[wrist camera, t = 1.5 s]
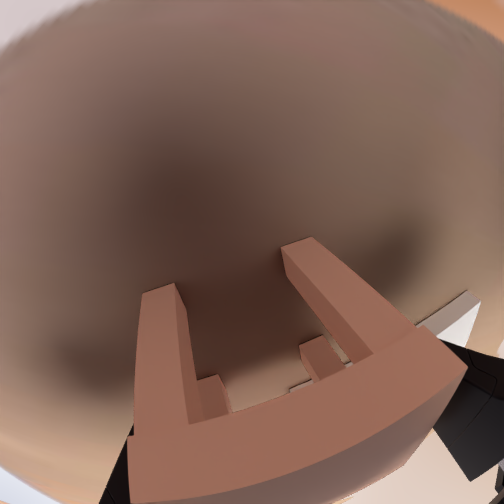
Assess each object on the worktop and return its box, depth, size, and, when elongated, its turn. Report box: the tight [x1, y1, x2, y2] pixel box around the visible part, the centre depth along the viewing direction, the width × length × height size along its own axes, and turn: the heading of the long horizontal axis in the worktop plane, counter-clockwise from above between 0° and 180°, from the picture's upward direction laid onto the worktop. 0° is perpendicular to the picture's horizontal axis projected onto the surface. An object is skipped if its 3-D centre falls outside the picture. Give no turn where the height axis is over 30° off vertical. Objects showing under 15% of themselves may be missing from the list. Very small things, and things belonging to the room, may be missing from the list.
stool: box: [127, 237, 468, 504], centre depth 8 cm, size 6×6×7 cm
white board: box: [289, 291, 481, 393], centre depth 17 cm, size 14×14×2 cm
